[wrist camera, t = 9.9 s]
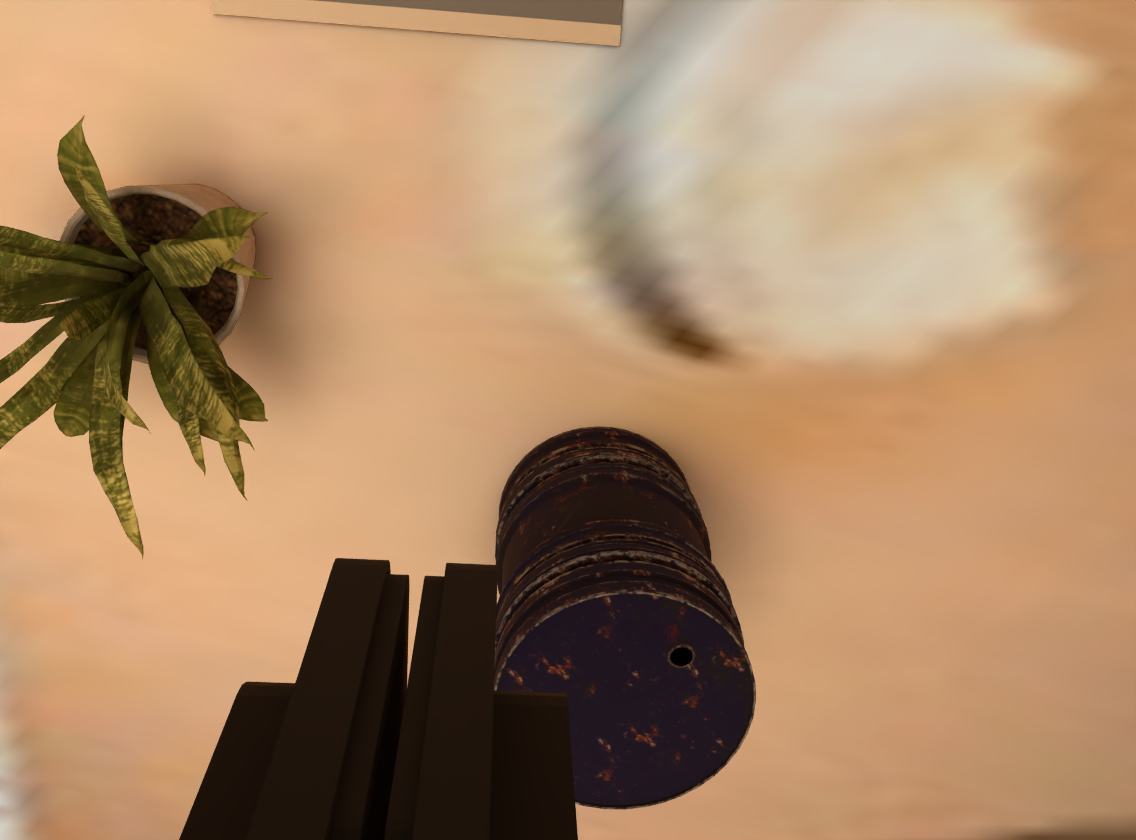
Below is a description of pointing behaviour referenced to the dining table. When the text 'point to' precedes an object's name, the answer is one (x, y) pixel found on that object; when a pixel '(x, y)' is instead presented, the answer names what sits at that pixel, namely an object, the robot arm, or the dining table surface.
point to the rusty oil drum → (620, 617)
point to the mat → (453, 16)
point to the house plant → (131, 316)
